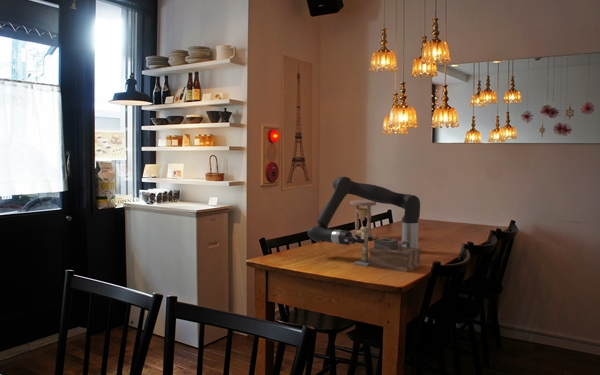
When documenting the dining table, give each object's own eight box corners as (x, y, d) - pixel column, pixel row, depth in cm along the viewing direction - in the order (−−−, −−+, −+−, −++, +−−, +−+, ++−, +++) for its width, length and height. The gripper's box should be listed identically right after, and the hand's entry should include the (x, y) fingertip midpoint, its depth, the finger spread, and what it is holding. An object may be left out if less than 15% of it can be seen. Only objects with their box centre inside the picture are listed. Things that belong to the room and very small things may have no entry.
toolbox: (383, 260, 276) (384, 236, 275) (420, 266, 264) (421, 240, 263) (368, 266, 262) (368, 240, 261) (406, 272, 250) (407, 245, 249)
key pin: (363, 260, 271) (363, 226, 270) (370, 261, 269) (370, 227, 268) (359, 262, 268) (359, 227, 267) (366, 263, 266) (366, 228, 265)
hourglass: (380, 239, 342) (380, 202, 340) (356, 241, 337) (356, 202, 335) (368, 235, 359) (369, 199, 357) (345, 236, 353) (345, 200, 352)
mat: (362, 261, 275) (362, 259, 275) (376, 263, 270) (376, 261, 270) (353, 264, 267) (353, 262, 267) (367, 266, 262) (367, 264, 262)
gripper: (334, 231, 270) (361, 234, 260) (348, 228, 282) (375, 231, 272) (334, 246, 271) (361, 249, 261) (348, 242, 282) (374, 245, 272)
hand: (368, 240), depth 267 cm, fingers open, 8 cm apart
